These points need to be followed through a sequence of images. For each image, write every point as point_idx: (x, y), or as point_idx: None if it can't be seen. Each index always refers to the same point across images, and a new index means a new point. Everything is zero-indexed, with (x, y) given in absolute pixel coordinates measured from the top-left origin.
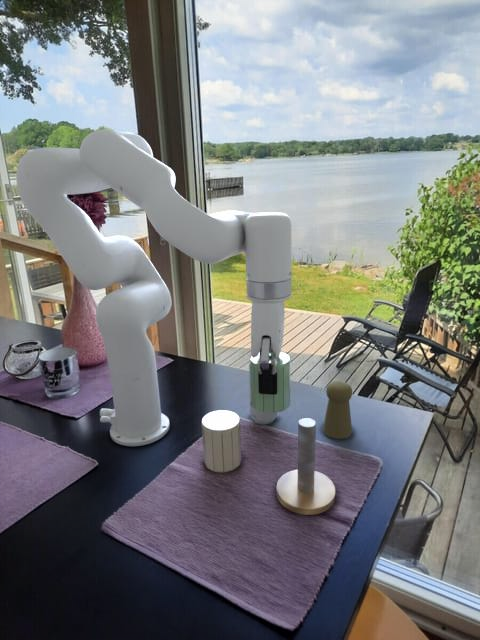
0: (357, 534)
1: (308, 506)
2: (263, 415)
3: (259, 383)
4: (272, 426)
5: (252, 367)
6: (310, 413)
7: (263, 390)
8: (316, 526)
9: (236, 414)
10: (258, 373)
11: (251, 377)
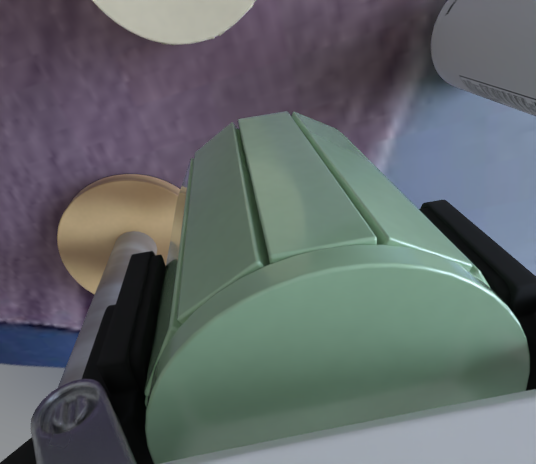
0: (69, 342)
1: (75, 267)
2: (444, 51)
3: (121, 301)
4: (420, 80)
5: (205, 282)
6: (498, 180)
7: (109, 306)
8: (48, 279)
9: (246, 6)
10: (98, 362)
11: (229, 202)
